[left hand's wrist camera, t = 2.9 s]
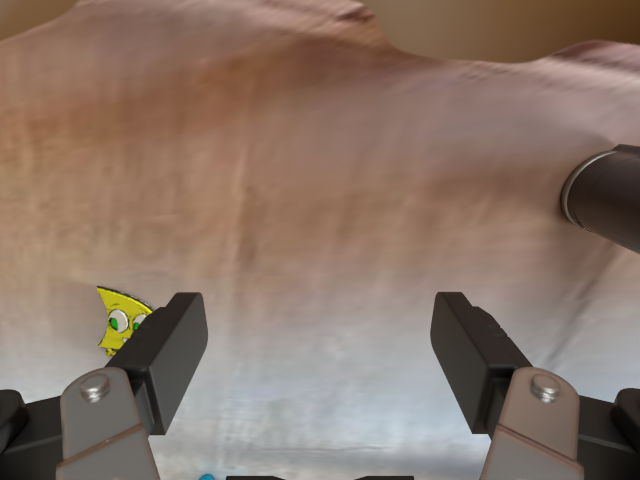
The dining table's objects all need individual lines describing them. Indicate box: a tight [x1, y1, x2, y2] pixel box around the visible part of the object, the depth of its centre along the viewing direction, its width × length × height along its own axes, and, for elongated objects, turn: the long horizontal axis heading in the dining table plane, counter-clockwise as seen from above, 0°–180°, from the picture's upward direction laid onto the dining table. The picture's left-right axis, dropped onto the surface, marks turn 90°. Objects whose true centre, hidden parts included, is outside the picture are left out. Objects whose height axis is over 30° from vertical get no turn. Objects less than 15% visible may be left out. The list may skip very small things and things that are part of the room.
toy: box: [97, 286, 154, 356], centre depth 48 cm, size 10×1×15 cm
